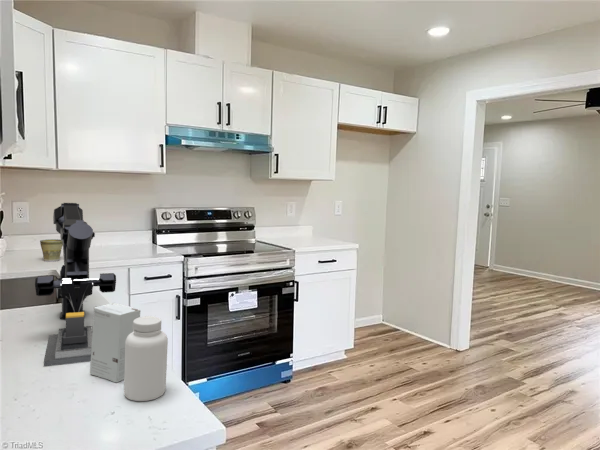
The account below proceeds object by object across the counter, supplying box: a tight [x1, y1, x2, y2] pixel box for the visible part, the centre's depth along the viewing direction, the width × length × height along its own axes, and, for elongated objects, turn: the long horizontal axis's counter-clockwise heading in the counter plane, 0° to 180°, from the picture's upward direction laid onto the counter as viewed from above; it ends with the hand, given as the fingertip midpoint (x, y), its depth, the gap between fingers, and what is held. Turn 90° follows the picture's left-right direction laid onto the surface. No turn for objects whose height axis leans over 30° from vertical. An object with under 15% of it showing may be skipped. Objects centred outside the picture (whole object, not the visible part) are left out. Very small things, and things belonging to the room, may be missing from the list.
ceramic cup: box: [39, 238, 63, 263], centre depth 217 cm, size 13×10×10 cm
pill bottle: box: [123, 315, 169, 402], centre depth 87 cm, size 8×8×15 cm
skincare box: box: [89, 302, 141, 383], centre depth 95 cm, size 8×6×15 cm
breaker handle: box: [63, 311, 86, 344], centre depth 109 cm, size 4×5×7 cm
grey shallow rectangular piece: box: [43, 325, 93, 368], centre depth 108 cm, size 18×12×3 cm, turn 26°
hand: (76, 312), depth 111 cm, fingers closed, pressing on breaker handle
